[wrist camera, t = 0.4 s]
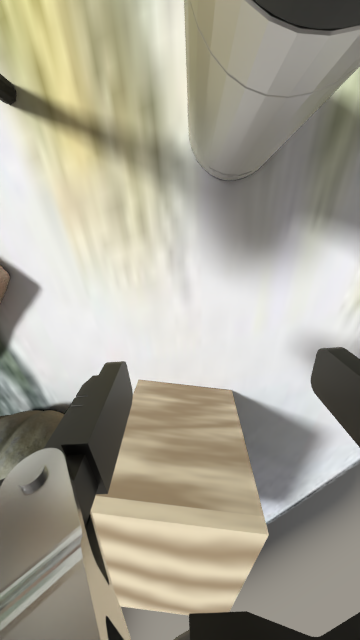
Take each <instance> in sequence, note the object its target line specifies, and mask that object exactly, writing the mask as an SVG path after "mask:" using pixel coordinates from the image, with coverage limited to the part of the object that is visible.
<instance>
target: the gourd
mask: <svg viewBox="0 0 360 640" xmlns="http://www.w3.org/2000/svg"><path fill="white" fill-rule="evenodd" d="M63 416H64V414H63V413H60V412H57V411H53V410H47V411H38V410H34V411H25V412H20V413H16V414H13V415H5V416H0V480H2V479H4V478H6V476H7V475H8V474H9V473H10V471H11V470H12V469H13V468H14V467H15V466H16V465H17V464H18V463H20V462H21V461H22V460H23V459H25V458H26V457H28V456H29V455H31V454H33V453H35V452H37V451H39V450H42V449H43V448H44V447H45V445H46V444H47V442H48V440H49V439H50V437H51V436H52V434H53V432H54V431H55V429H56V428H57V426H58V424H59V423H60V421H61V419H62V418H63Z"/></svg>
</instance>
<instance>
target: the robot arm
mask: <svg viewBox="0 0 360 640" xmlns="http://www.w3.org/2000/svg"><path fill="white" fill-rule="evenodd" d="M184 9H185V38H186V67H187V95H188V127H189V140H190V144H191V148H192V151H193V153H194V155H195V157H196V160H197V161H198V162H199V164H200V165H201V167H202V168H203V169H204V170H205V171H207V172H208V173H209V174H210V175H212V176H214V177H216V178H219V179H223V180H237V179H241V178H245V177H247V176H248V175H250V174H252V173H254V172H255V171H256V170H258V169H259V168H260V167H261V166H262V165H263V164H264V163H265V162H266V161H267V160H268V159H269V158H270V157H271V156H272V155H273V154H274V153H275V152H276V151H277V150H278V149H279V148H280V147H281V146H282V145H283V144H284V143H285V142H286V141H287V140H288V139H289V138H290V137H291V136H292V135H293V134H294V133H295V132H296V131H297V130H298V129H299V128H300V127H301V126H302V125H303V124H304V123H305V122H306V121H307V120H308V119H309V118H310V117H311V116H312V115H313V114H314V113H315V112H316V111H317V110H318V108H319V107H320V106H321V105H322V104H323V103H324V102H325V101H326V100H327V99H328V98H329V97H330V96H331V95H332V94H333V93H334V92H335V91H336V90H337V89H338V88H339V87H340V86H341V85H342V84H343V83H344V82H345V81H346V80H347V79H348V78H349V77H350V76H351V75H352V74H353V73H354V72H355V71H356V70H357V69H358V68H359V67H360V0H184ZM311 386H312V389H313V391H314V393H315V394H316V395H317V397H318V398H319V399H320V400H321V401H322V403H323V404H324V405H325V406H326V407H327V409H328V410H329V411H330V412H331V413H332V415H333V416H334V417H335V418H336V419H337V421H338V422H339V423H340V424H341V425H342V427H343V428H344V429H345V430H346V431H347V433H348V434H349V435H350V436H351V437H352V439H353V440H354V441H355V442H356V443H357V445H358V446H359V447H360V359H359V358H357V357H356V356H355V355H353V354H352V353H350V352H349V351H348V350H346V349H345V348H342V347H336V348H322V349H319V350H318V352H317V354H316V359H315V363H314V367H313V371H312V376H311ZM132 399H133V393H132V387H131V382H130V378H129V373H128V369H127V365H126V362H124V361H123V362H108V363H105V365H104V367H103V368H102V370H101V372H100V374H99V375H97V376H92V377H91V378H90V379H89V380H88V381H87V382H86V383H84V384H83V385H82V387H81V389H80V390H79V392H78V394H77V395H76V398H74V400H73V402H72V403H71V406H70V407H69V408H68V410H67V411H66V413H65V415H64V416H63V418H62V419H61V421H60V423H59V424H58V426H57V428H56V429H55V431H54V432H53V434H52V436H51V437H50V439H49V440H48V442H47V444H46V445H45V447H44V448H43V449H42V450H39V451H37V452H35V453H33V454H31V455H29V456H28V457H26V458H25V459H23V460H22V461H21V462H20V463H18V464H17V465H16V466H15V467H14V468H13V469H12V470H11V471H10V473H9V474H8V475H7V476H6V478H4V479H2V480H0V640H131V639H130V635H129V632H128V628H127V625H126V622H125V619H124V616H123V613H122V610H121V607H120V604H119V602H118V599H117V597H116V594H115V591H114V588H113V585H112V581H111V578H110V575H109V571H108V568H107V564H106V561H105V557H104V554H103V550H102V547H101V543H100V540H99V536H98V533H97V529H96V526H95V522H94V519H93V516H92V512H91V508H92V505H93V502H94V499H95V495H96V494H108V492H109V488H110V484H111V480H112V477H113V473H114V469H115V465H116V462H117V458H118V454H119V450H120V447H121V443H122V439H123V436H124V432H125V428H126V424H127V421H128V417H129V413H130V409H131V406H132ZM189 626H190V630H188V631H186V632H185V633H183V634H181V635H179V636H178V637H176V638H175V639H174V640H360V612H359V613H358V614H356V615H355V616H353V617H351V618H350V619H348V620H347V621H345V622H343V623H342V624H340V625H339V626H337V627H335V628H334V629H332V630H331V631H329V632H327V633H326V634H324V635H323V636H320V637H311V636H308V635H305V634H303V633H300V632H298V631H295V630H293V629H290V628H287V627H285V626H282V625H280V624H277V623H275V622H272V621H269V620H267V619H264V618H262V617H259V616H257V615H254V614H252V613H249V612H218V613H191V614H189Z"/></svg>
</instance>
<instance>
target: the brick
mask: <svg viewBox="0 0 360 640" xmlns="http://www.w3.org/2000/svg"><path fill="white" fill-rule="evenodd" d="M9 279H10V277H9V274H8V273H7V272H6V271H5V270H4V269H3V268H2V267H1V266H0V303H1V301H2V298H3V296H4V294H5V291H6V288H7V285H8V282H9Z"/></svg>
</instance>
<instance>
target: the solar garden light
mask: <svg viewBox="0 0 360 640" xmlns="http://www.w3.org/2000/svg"><path fill="white" fill-rule="evenodd" d="M0 100H1V101H3V102H5V103H7V104H10V105H11V104H12V103H13V102H15V101H16V91H15V89H14V87H13V86H12V84H11V83H10V82H9V81H8V80H7V79H6V78H5V77H3V76H2V75H1V74H0Z"/></svg>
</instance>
